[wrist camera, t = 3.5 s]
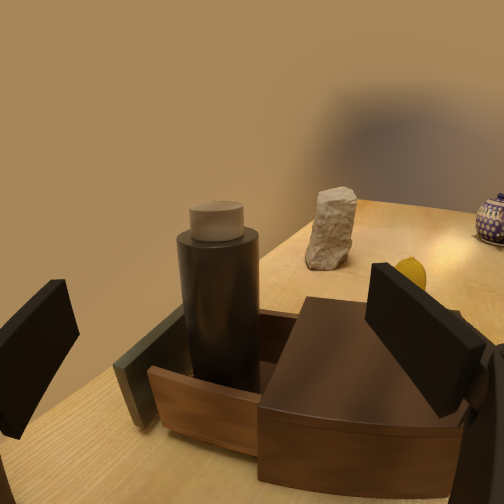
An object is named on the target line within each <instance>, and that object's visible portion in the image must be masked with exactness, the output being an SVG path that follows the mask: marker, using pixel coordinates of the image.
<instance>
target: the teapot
mask: <svg viewBox="0 0 504 504" xmlns="http://www.w3.org/2000/svg"><path fill="white" fill-rule="evenodd" d="M476 230H477V232H478V234H479V235H480V236H481V240H482V241H484V242H486V243H489V244H493V245H497V246H504V195H503V194H501V193H499V194H498V198H496V199H488V200H487V202H486V203H484V204H483V205H481V207H480V208H479V210H478V213H477V217H476Z"/></svg>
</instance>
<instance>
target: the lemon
mask: <svg viewBox="0 0 504 504" xmlns="http://www.w3.org/2000/svg"><path fill="white" fill-rule="evenodd" d="M395 269H397V270H398V271H399V272H401V273H402V274H403V275H404V276H406V277H407V278H408V279H410V280H411V281H412V282H414V283H415V284H416V285H417V286H419V287H420V288H421V289H423V290H424V291H425V287H426V272H425V269H424V267H423V266H422V264H421V263H420V262H419V261H417V260H415V258H414V257H409V258H408V259H404V260H402V261H400V262H399V263H398V264H397V265H396V266H395Z"/></svg>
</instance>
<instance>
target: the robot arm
mask: <svg viewBox="0 0 504 504" xmlns="http://www.w3.org/2000/svg"><path fill="white" fill-rule="evenodd" d="M364 320H365V321H366V322H367V323H368V325H369V326H370V327H371V329H372V330H373V331H374V332H375V334H376V335H377V336H378V337H379V339H380V340H381V341H382V343H383V344H384V345H385V346H386V348H387V349H388V350H389V352H390V353H391V354H392V356H393V357H394V358H395V359H396V361H397V362H398V363H399V365H400V366H401V367H402V369H403V370H404V371H405V373H406V374H407V375H408V377H409V378H410V379H411V381H412V382H413V383H414V385H415V386H416V387H417V389H418V390H419V391H420V393H421V394H422V395H423V397H424V398H425V399H426V401H427V402H428V404H429V405H430V406H431V408H432V409H433V410H434V412H435V413H436V415H437V416H438V417H439V419H440V418H443V417H446V416H448V415H450V414H453V413H455V412H457V410H458V408H459V407H460V405H461V403H462V401H463V398H464V399H465V400H466V401H467V403H468V404H469V405H468V407H467V409H466V411H465V413H464V415H463V416H462V418H461V420H460V422H459V424H458V426H457V429H459V428H460V427H461V425H462V424H463V423H464V425H463V433H462V439H461V446H460V451H459V457H458V462H457V467H456V472H455V476H454V481H453V485H452V489H451V493H450V497H449V501H448V504H504V344H503V343H502V344H499V345H497V346H495V345H494V344H493V343H492V342H491V341H490V340H489V339H487V338H486V337H485V336H484V335H483V334H482V333H480V332H479V331H478V330H477V329H476V328H473V326H472V325H471V324H470V323H468V322H466V320H465V319H464V318H462V317H461V316H460V315H459V314H457V313H455V312H453V311H451V310H449V309H447V308H445V307H444V306H443V305H441V304H440V303H439V302H438V301H436V300H435V299H434V298H433V297H431V296H430V295H429V294H428V293H426V292H425V291H424V290H423V289H421V288H420V287H419V286H417V285H416V284H415V283H414V282H412V281H411V280H410V279H408V278H407V277H406V276H404V275H403V274H402V273H401V272H399V271H398V270H397V269H395V268H394V267H393V266H391V265H390V264H389V263H387V262H386V263H372V268H371V276H370V284H369V292H368V299H367V306H366V313H365V319H364ZM79 335H80V333H79V330H78V327H77V323H76V320H75V317H74V313H73V309H72V306H71V302H70V298H69V294H68V290H67V286H66V282H65V279H60V280H59V279H57V280H50V281H49V282H48V283H47V284H46V285H45V286H44V287H43V288H41V289H40V290H39V291H38V292H37V293H36V294H35V295H34V296H33V297H32V298H31V299H30V300H29V301H28V302H27V303H26V304H25V305H24V306H23V307H22V308H21V309H19V310H18V312H17V313H15V314H14V315H13V316H12V317H11V318H10V319H9V321H7V322H6V324H4V326H3V327H2V328H1V329H0V431H1V432H2V433H3V435H5V436H8V437H11V438H14V439H18V440H20V438H21V436H22V434H23V432H24V430H25V428H26V426H27V424H28V422H29V420H30V418H31V416H32V415H33V413H34V411H35V409H36V407H37V405H38V403H39V402H40V400H41V398H42V396H43V395H44V393H45V391H46V389H47V387H48V386H49V384H50V382H51V381H52V379H53V377H54V375H55V374H56V372H57V370H58V369H59V367H60V365H61V364H62V362H63V360H64V359H65V357H66V355H67V354H68V352H69V351H70V349H71V347H72V346H73V344H74V343H75V341H76V340H77V338H78V336H79ZM0 504H16V503H15V500H14V498H13V495H12V492H11V489H10V486H9V483H8V480H7V477H6V473H5V470H4V466H3V463H2V459H1V455H0Z"/></svg>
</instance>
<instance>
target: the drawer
mask: <svg viewBox="0 0 504 504" xmlns="http://www.w3.org/2000/svg"><path fill="white" fill-rule="evenodd" d="M298 315H299V314H292V313H285V312H278V311H271V310H264V309H260V393H259V394H256V393H252V392H247V391H243V390H238V389H234V388H230V387H226V386H222V385H218V384H214V383H210V382H207V381H203V380H199V379H196V378H192V377H189V375H190V374H191V373H192V372H193V368H192V362H191V356H190V349H189V343H188V336H187V328H186V321H185V314H184V306H183V304H182V305H181V306H179V307H178V308H177V309H176V310H175V311H173V313H171V314H170V315H169V316H168V317H167V318H165V319H164V320H163V321H162V322H161V323H160V324H158V325H157V326H156V327H155V328H154V329H153V330H152V331H151V332H149V333H148V334H147V335H146V336H145V337H143V338H142V339H141V340H140V341H139V342H138V343H137V344H135V345H134V346H133V347H132V348H131V349H130V350H129V351H127V352H126V353H125V354H124V355H123V356H122V357H121V358H119V360H117V361H116V362H115V363H114V364H113V368H114V371H115V374H116V377H117V380H118V383H119V385H120V388H121V391H122V394H123V397H124V399H125V402H126V405H127V407H128V410H129V413H130V415H131V418H132V420H133V423H134V425H136V426H138V427H140V428H143V429H146V428H147V426H148V425H149V424H150V423H151V422H152V420H153V419H154V418H155V417H156V416H157V414H158V413H159V416H160V419H161V421H162V425H163V427H165V428H168V429H170V430H173V431H175V432H178V433H181V434H184V435H187V436H189V437H192V438H195V439H198V440H201V441H204V442H207V443H211V444H214V445H217V446H220V447H224V448H227V449H231V450H234V451H238V452H241V453H245V454H249V455H253V456H257V405H258V403H259V401H260V399H261V397H262V395H263V393H264V391H265V388H266V386H267V384H268V382H269V380H270V378H271V376H272V374H273V371H274V369H275V367H276V365H277V363H278V361H279V358H280V356H281V354H282V352H283V350H284V347H285V345H286V343H287V341H288V338H289V336H290V334H291V332H292V329H293V327H294V325H295V322H296V320H297V318H298Z"/></svg>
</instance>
